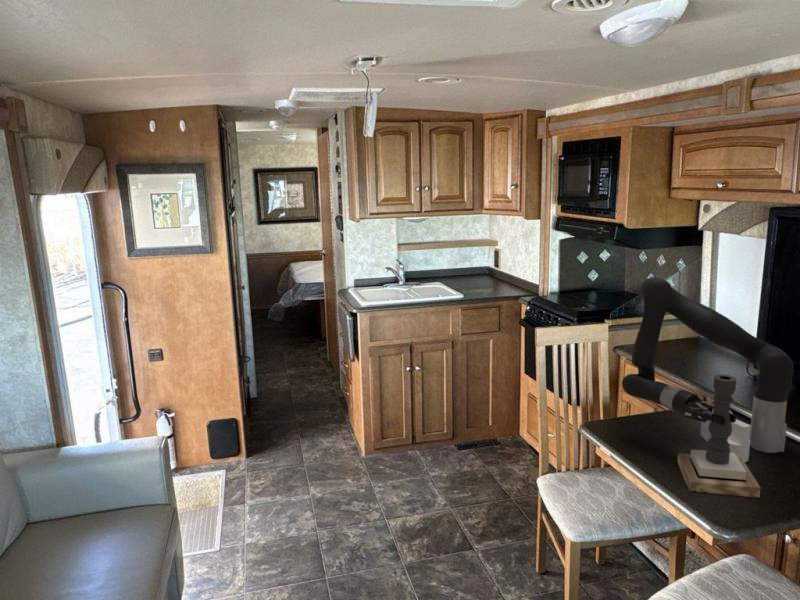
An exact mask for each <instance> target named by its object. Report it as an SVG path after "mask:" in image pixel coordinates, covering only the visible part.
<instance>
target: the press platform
mask: <svg viewBox="0 0 800 600" xmlns="http://www.w3.org/2000/svg"><path fill="white" fill-rule="evenodd" d="M690 454H691V459H692V461H693V463H694V465H695V467H694V468H695V470H696V471H697V475H698V476H699V477H707V478H719V479H731V480H739V479H741V480H746V470H745V469H744V467H743V466H742V464H741V462H740V461H739V459H738V458H737V456H736V454H735V453H730V456H729V462H727V463H715V462H712V461H710V460H708V459H707V458H706V450H701V449H691V450H690Z"/></svg>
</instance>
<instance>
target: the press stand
mask: <svg viewBox="0 0 800 600" xmlns="http://www.w3.org/2000/svg"><path fill="white" fill-rule="evenodd" d="M738 459H739V461H740V462H741V464H742V466H743V467H744V469H745V470H746V480H741V479H738V480H739V481H734V480H727V479H726V480H724V479H715V478H714V479H713V478H712V479H711V478H701V477H698V474H697V473H696V471H695V470H696V469H695V468H696V467H695V465H694V463H693V461H692V459H691V453H679V452H678V453H677V465H678V467H679V469H680V473H682V476H683V477H682V478H683V479H684V482H685V484H686V486H688V487H687V489H688V491H689V492H693V491H696V492H695V493H703V492H707V493H706V494H714V493H715V494H717V495H725V496H738V497H747V498H748V497H749V498H759V499H760V497H761V496H760V495H761V489H762V487H761V486H760V484H759V483H758V481H757V479H756V478H755V477H754V475H753V474H752V472H751V470H750V469H749V468H748V466H747V465H746V462H745V463H744V461H743V460H742V458H738Z"/></svg>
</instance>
